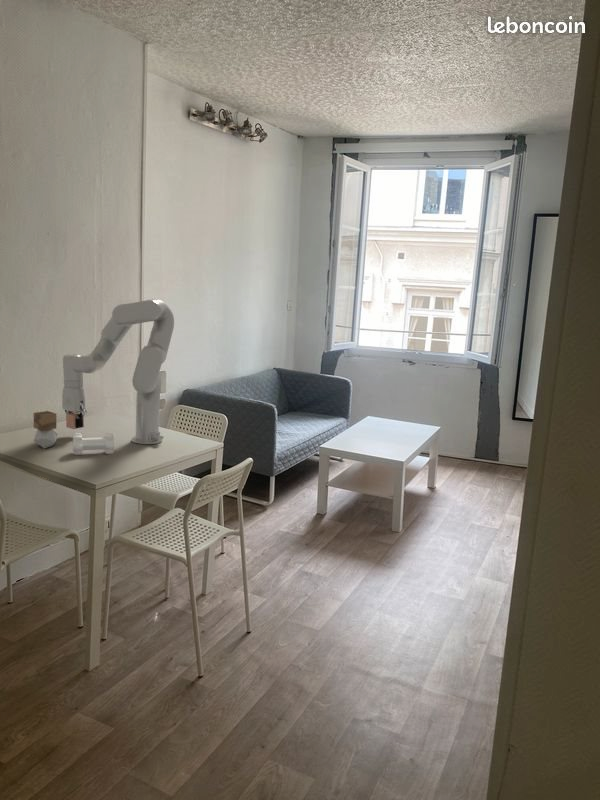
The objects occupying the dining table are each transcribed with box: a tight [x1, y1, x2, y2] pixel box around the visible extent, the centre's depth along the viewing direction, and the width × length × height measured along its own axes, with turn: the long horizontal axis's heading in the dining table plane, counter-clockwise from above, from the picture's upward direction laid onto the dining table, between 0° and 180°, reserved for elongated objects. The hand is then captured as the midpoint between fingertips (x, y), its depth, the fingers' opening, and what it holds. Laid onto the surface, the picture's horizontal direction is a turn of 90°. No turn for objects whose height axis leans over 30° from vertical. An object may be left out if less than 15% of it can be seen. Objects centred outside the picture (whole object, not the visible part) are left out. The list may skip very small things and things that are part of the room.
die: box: [32, 429, 59, 449], centre depth 247 cm, size 8×9×10 cm
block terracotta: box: [65, 412, 85, 430], centre depth 264 cm, size 5×5×6 cm
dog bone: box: [72, 432, 115, 456], centre depth 242 cm, size 15×9×8 cm, turn 112°
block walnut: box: [33, 410, 57, 431], centre depth 245 cm, size 6×6×6 cm
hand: (75, 425), depth 265 cm, fingers closed on block terracotta, 5 cm apart
